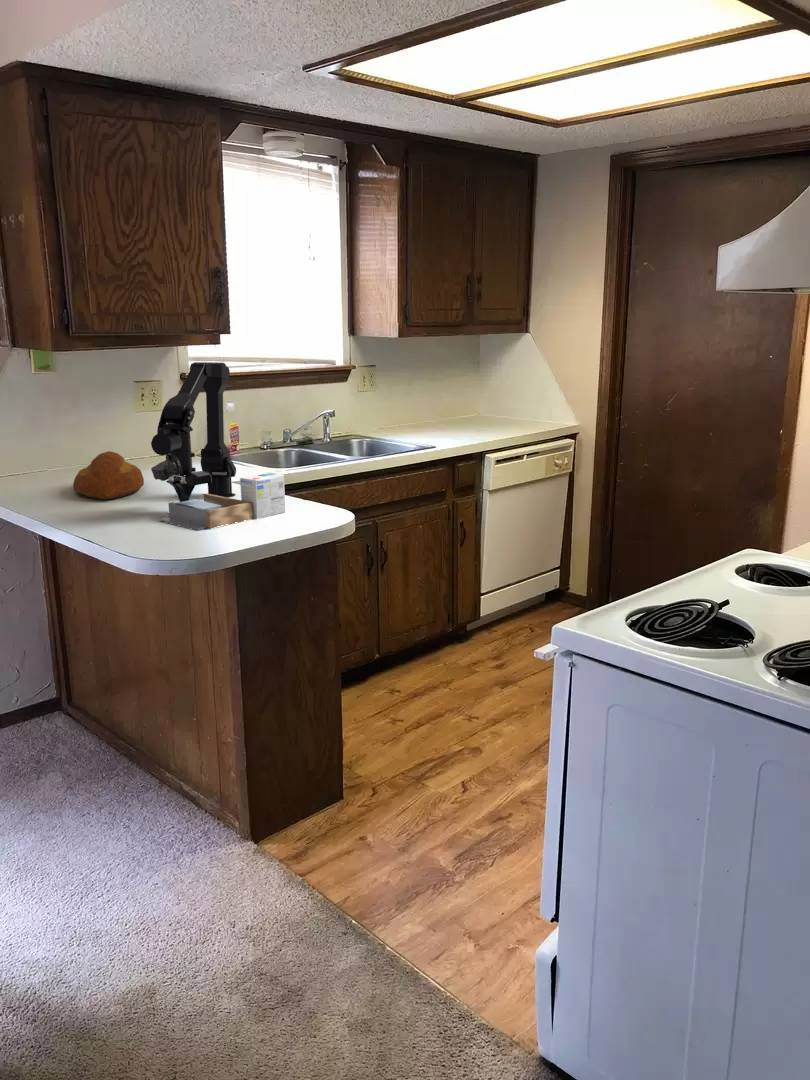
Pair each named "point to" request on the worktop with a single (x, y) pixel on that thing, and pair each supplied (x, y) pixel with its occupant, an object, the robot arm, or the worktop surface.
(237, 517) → the oak shelf corner
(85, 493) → the bread
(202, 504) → the boxed book
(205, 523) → the grey angle iron
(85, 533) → the worktop surface
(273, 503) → the light bulb box
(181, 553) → the worktop surface
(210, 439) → the robot arm
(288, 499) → the worktop surface
